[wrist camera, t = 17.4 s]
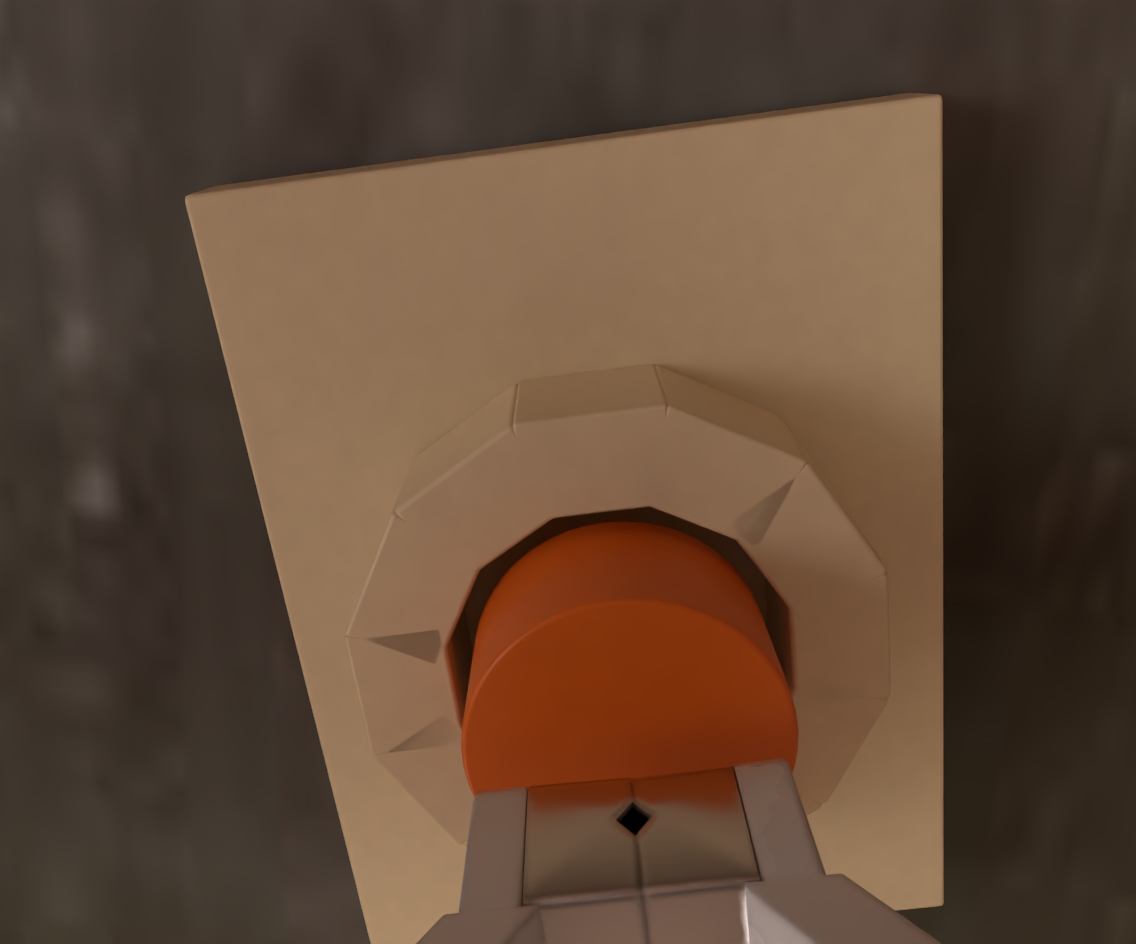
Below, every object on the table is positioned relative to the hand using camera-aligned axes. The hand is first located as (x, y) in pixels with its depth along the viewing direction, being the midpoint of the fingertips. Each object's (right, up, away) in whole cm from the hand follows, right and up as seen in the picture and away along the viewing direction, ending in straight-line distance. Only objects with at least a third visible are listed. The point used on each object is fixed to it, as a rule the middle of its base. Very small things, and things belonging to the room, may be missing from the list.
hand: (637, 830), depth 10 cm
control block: (0, +2, +5) cm, 6 cm away
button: (0, +1, +3) cm, 3 cm away
